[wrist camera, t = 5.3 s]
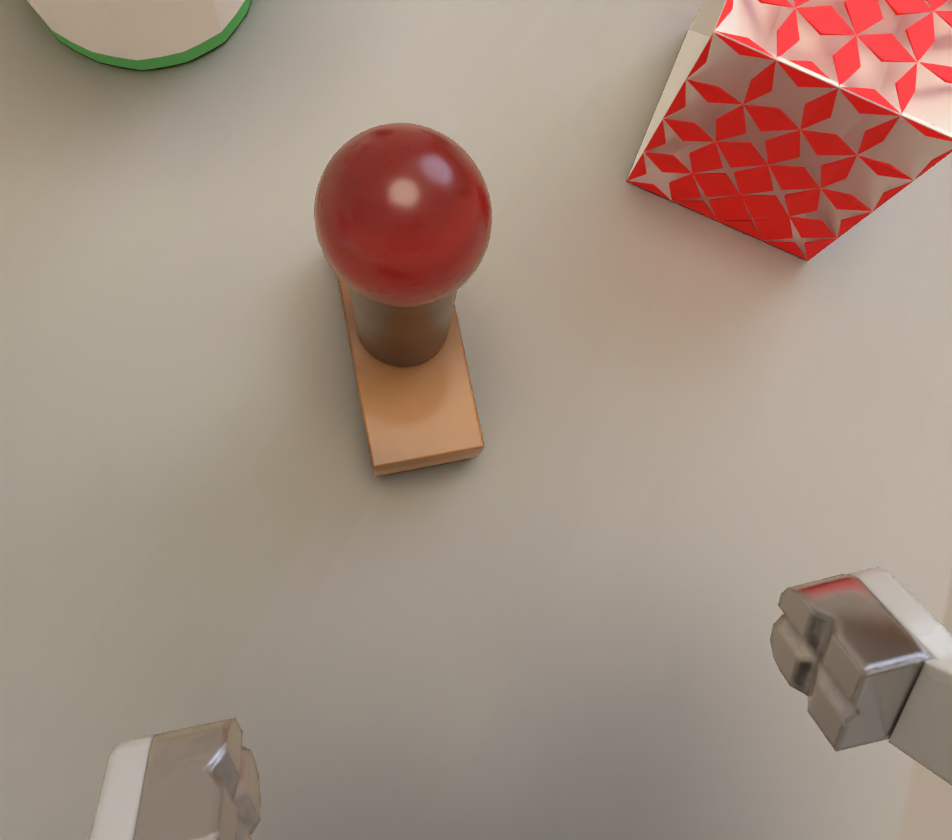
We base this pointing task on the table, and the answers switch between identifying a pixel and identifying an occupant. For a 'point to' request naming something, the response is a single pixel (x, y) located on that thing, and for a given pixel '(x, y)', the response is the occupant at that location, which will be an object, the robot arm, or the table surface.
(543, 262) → the table surface
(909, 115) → the red and white cube
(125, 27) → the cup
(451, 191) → the stamp
